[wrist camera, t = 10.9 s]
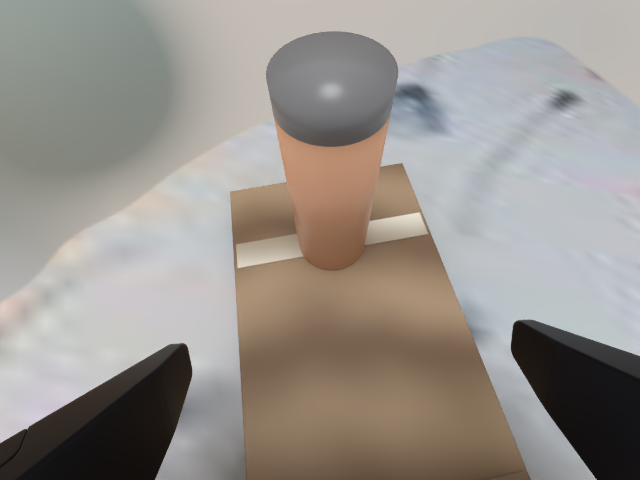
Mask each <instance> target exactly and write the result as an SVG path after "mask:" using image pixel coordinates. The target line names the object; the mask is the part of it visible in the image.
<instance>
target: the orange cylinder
mask: <svg viewBox="0 0 640 480" xmlns="http://www.w3.org/2000/svg"><path fill="white" fill-rule="evenodd" d="M397 78H398V66H397V63H396V61H395V58H394V57H393V55H392V54H391V53H390V52H389V50H388V49H386V48H385V47H384V46H383V45H381V44H379V43H378V42H376V41H375V40H373V39H370V38H368V37H365V36H362V35H358V34H354V33H348V32H321V33H315V34H310V35H306V36H303V37H300V38H298V39H295V40H293V41H291V42H290V43H288V44H286V45H284V46H283V47H282V48H280V49H279V50H278V51H277V52H276V53H275V54H274V55H273V57H272V58H271V60H270V62H269V64H268V66H267V71H266V79H267V84H268V89H269V94H270V100H271V104H272V110H273V115H274V120H275V125H276V130H277V135H278V140H279V145H280V150H281V155H282V160H283V165H284V170H285V175H286V180H287V185H288V190H289V195H290V201H291V206H292V211H293V216H294V221H295V226H296V231H297V236H298V241H299V246H300V250H301V252H302V254H303V256H304V257H305V258H306V260H307V261H308V262H310V263H311V264H312V265H314V266H316V267H318V268H321V269H325V270H340V269H343V268H346V267H348V266H350V265H352V264H353V263H354V262H356V261H357V260H358V258H359V257H360V256H361V254H362V252H363V250H364V246H365V241H366V236H367V231H368V226H369V221H370V215H371V210H372V205H373V200H374V195H375V190H376V185H377V180H378V175H379V170H380V165H381V160H382V154H383V149H384V144H385V139H386V134H387V129H388V124H389V119H390V114H391V109H392V104H393V98H394V93H395V88H396V83H397Z"/></svg>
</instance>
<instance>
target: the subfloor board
mask: <svg viewBox="0 0 640 480" xmlns="http://www.w3.org/2000/svg"><path fill="white" fill-rule="evenodd" d="M230 197H231V214H232V232H233V249H234V267H235V284H236V302H237V319H238V336H239V354H240V371H241V389H242V406H243V424H244V441H245V458H246V476H247V480H530V477H529V475H528V473H527V470H526V468H525V465H524V463H523V460H522V458H521V455H520V453H519V450H518V448H517V445H516V443H515V440H514V438H513V436H512V433H511V431H510V428H509V426H508V423H507V421H506V418H505V416H504V413H503V411H502V408H501V406H500V403H499V401H498V398H497V396H496V394H495V391H494V389H493V386H492V384H491V381H490V379H489V376H488V374H487V371H486V369H485V366H484V364H483V361H482V359H481V357H480V354H479V352H478V349H477V347H476V344H475V342H474V339H473V337H472V334H471V332H470V329H469V327H468V324H467V322H466V319H465V317H464V315H463V312H462V310H461V307H460V305H459V302H458V300H457V297H456V295H455V292H454V290H453V287H452V285H451V282H450V280H449V278H448V275H447V273H446V270H445V268H444V265H443V263H442V260H441V258H440V255H439V253H438V250H437V248H436V245H435V243H434V241H433V238H432V236H431V233H430V231H429V228H428V226H427V223H426V221H425V218H424V216H423V213H422V211H421V208H420V206H419V203H418V201H417V199H416V196H415V194H414V191H413V189H412V186H411V184H410V181H409V179H408V176H407V174H406V171H405V169H404V166H403V164H402V163H401V164H395V165H389V166H383V167H380V170H379V175H378V180H377V185H376V190H375V195H374V200H373V205H372V210H371V215H370V221H369V226H368V231H367V236H366V241H365V246H364V250H363V252H362V254H361V256H360V257H359V258H358V260H357V261H356V262H354V263H353V264H352V265H350V266H348V267H346V268H343V269H340V270H325V269H321V268H318V267H316V266H314V265H312V264H311V263H310V262H308V261H307V260H306V258H305V257H304V256H303V254H302V252H301V250H300V246H299V241H298V236H297V231H296V226H295V221H294V216H293V211H292V206H291V201H290V195H289V190H288V185H287V182H286V183H280V184H274V185H268V186H262V187H256V188H250V189H244V190H238V191H232V192H230Z"/></svg>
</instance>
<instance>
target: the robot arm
mask: <svg viewBox="0 0 640 480" xmlns="http://www.w3.org/2000/svg"><path fill="white" fill-rule="evenodd" d="M511 352H512V355H513V357H514V359H515V360H516V362H517V364H518V365H519V367H520V369H521V370H522V372H523V374H524V375H525V377H526V379H527V380H528V382H529V384H530V385H531V387H532V389H533V390H534V392H535V394H536V395H537V397H538V399H539V400H540V402H541V403H542V405H543V406H544V408H545V409H546V411H547V412H548V414H549V415H550V416H551V418H552V419H553V421H554V422H555V423H556V425H557V426H558V427H559V429H560V430H561V431H562V433H563V434H564V436H565V437H566V438H567V440H568V441H569V442H570V444H571V445H572V446H573V448H574V449H575V451H576V452H577V453H578V455H579V456H580V457H581V459H582V460H583V461H584V463H585V464H586V466H587V467H588V468H589V470H590V471H591V472H592V474H593V475H594V476H595V478H596V479H597V480H640V356H638V355H635V354H632V353H629V352H626V351H623V350H620V349H617V348H614V347H611V346H608V345H605V344H602V343H599V342H596V341H593V340H590V339H587V338H585V337H582V336H579V335H576V334H573V333H570V332H567V331H564V330H561V329H558V328H555V327H552V326H549V325H546V324H543V323H540V322H537V321H534V320H518V321H516V322H515V323H514V325H513V332H512V341H511ZM191 378H192V366H191V361H190V356H189V351H188V347H187V345H186V344H184V343H180V344H170V345H168V346H166V347H164V348H163V349H161V350H159V351H158V352H156V353H154V354H152V355H151V356H149V357H147V358H146V359H144V360H142V361H140V362H139V363H137V364H135V365H134V366H132V367H130V368H129V369H127V370H125V371H123V372H122V373H120V374H118V375H117V376H115V377H113V378H111V379H110V380H108V381H106V382H105V383H103V384H101V385H99V386H98V387H96V388H94V389H93V390H91V391H89V392H87V393H86V394H84V395H82V396H81V397H79V398H77V399H75V400H74V401H72V402H70V403H69V404H67V405H65V406H63V407H62V408H60V409H58V410H57V411H55V412H53V413H51V414H50V415H48V416H46V417H45V418H43V419H41V420H39V421H38V422H36V423H34V424H33V425H31V426H29V428H28V430H27V429H24V430H22V431H20V432H19V433H17V434H15V435H14V436H12V437H10V438H9V439H7V440H5V441H3V442H2V443H0V480H155V478H156V476H157V473H158V471H159V469H160V466H161V464H162V462H163V459H164V457H165V455H166V452H167V450H168V447H169V445H170V443H171V440H172V438H173V435H174V433H175V430H176V427H177V424H178V421H179V417H180V414H181V411H182V408H183V404H184V401H185V398H186V394H187V391H188V388H189V385H190V381H191Z"/></svg>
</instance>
